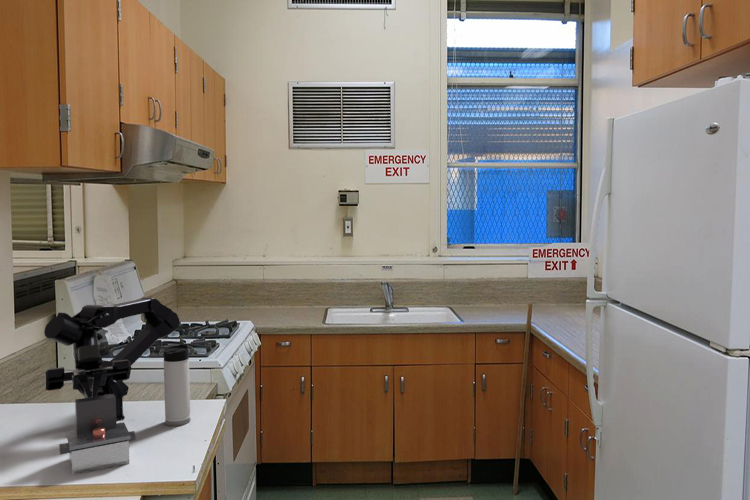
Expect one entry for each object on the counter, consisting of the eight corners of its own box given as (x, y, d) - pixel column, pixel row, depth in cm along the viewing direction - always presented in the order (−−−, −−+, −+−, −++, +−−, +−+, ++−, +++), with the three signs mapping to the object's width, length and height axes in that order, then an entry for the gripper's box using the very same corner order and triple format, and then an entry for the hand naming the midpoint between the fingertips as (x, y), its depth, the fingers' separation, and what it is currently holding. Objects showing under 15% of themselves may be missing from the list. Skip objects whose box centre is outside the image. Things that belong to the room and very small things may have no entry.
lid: (66, 435, 129) (65, 400, 129) (123, 425, 135) (122, 392, 135) (69, 450, 120) (68, 413, 120) (130, 439, 126) (129, 403, 126)
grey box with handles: (59, 460, 128) (58, 438, 128) (132, 446, 136) (131, 425, 136) (61, 477, 120) (60, 453, 120) (139, 461, 128) (138, 439, 127)
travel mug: (196, 418, 155) (194, 344, 154) (180, 427, 149) (178, 349, 148) (176, 416, 157) (174, 343, 156) (160, 424, 151) (158, 348, 150)
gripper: (44, 335, 137) (47, 393, 128) (129, 327, 147) (137, 380, 138) (44, 362, 144) (47, 418, 135) (125, 352, 154) (133, 404, 145)
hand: (92, 404), depth 138 cm, fingers closed
